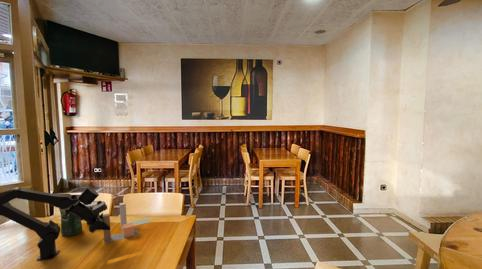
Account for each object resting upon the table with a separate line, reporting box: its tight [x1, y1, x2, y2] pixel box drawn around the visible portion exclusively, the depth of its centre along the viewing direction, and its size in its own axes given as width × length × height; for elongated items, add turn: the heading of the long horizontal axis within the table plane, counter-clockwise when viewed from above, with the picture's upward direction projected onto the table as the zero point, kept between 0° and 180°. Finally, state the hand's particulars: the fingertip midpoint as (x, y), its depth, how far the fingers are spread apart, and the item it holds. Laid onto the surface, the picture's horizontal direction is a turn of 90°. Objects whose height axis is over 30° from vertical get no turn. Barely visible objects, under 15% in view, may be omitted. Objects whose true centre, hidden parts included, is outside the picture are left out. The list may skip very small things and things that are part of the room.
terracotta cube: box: [122, 223, 135, 238], centre depth 131 cm, size 5×5×5 cm
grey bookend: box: [119, 202, 152, 229], centre depth 144 cm, size 16×7×14 cm, turn 120°
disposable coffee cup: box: [84, 200, 99, 225], centre depth 148 cm, size 10×10×12 cm
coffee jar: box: [58, 206, 83, 237], centre depth 134 cm, size 10×8×19 cm
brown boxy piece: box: [103, 213, 139, 246], centre depth 129 cm, size 16×7×14 cm, turn 120°
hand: (109, 227), depth 126 cm, fingers closed on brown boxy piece, 3 cm apart
